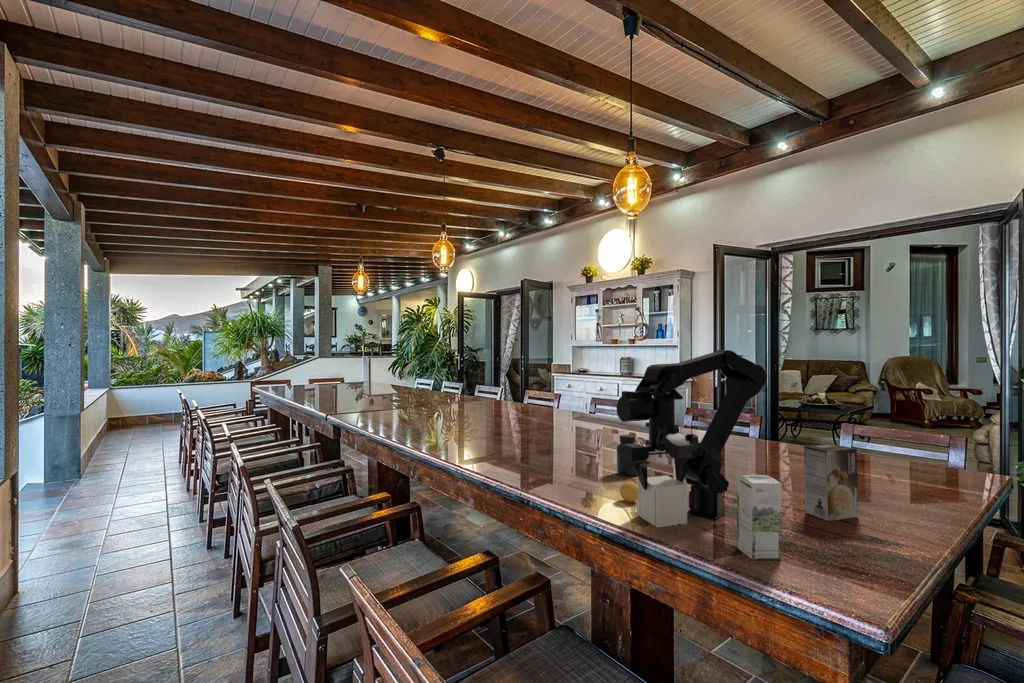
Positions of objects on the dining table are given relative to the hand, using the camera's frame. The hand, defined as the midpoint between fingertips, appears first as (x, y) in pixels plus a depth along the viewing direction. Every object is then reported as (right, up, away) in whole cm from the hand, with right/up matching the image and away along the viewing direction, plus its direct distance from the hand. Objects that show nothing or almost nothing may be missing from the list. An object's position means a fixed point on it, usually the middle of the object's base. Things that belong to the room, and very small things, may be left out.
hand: (662, 487), depth 111 cm
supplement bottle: (+2, -8, +40) cm, 41 cm away
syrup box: (+13, -7, -19) cm, 24 cm away
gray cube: (0, -7, 0) cm, 7 cm away
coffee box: (+41, -8, +3) cm, 41 cm away
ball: (-4, -5, +13) cm, 15 cm away
